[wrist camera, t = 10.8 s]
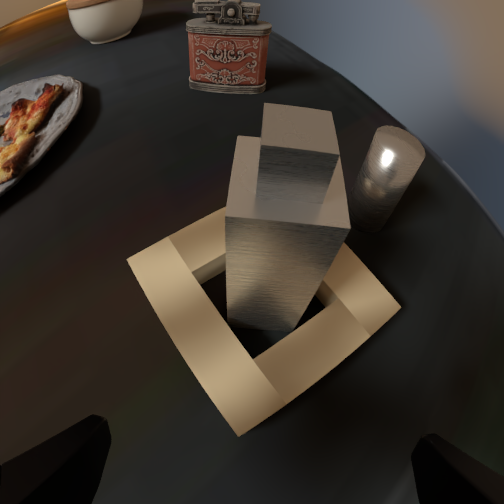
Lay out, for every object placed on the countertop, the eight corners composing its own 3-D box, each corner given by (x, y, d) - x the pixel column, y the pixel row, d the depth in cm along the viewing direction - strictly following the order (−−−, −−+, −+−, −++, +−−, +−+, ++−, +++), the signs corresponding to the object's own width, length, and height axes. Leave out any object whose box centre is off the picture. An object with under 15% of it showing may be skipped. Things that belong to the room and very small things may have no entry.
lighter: (266, 81, 31) (275, -2, 23) (263, 96, 29) (272, 6, 21) (193, 76, 31) (190, -5, 23) (185, 90, 29) (180, 3, 21)
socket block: (386, 319, 18) (401, 307, 16) (237, 435, 14) (238, 436, 13) (278, 198, 22) (282, 178, 21) (135, 275, 19) (126, 259, 17)
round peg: (392, 221, 22) (433, 153, 16) (365, 240, 21) (407, 169, 15) (363, 192, 23) (395, 121, 17) (335, 209, 22) (365, 133, 16)
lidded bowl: (61, 52, 38) (48, -2, 28) (107, 24, 44) (101, -24, 34) (114, 51, 36) (104, -15, 26) (161, 23, 42) (157, -32, 33)
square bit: (292, 331, 18) (374, 182, 7) (227, 326, 17) (224, 163, 7) (293, 274, 19) (352, 102, 9) (233, 269, 19) (239, 87, 9)
